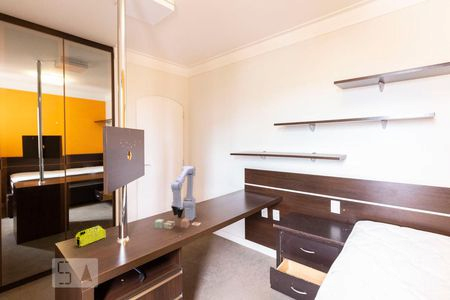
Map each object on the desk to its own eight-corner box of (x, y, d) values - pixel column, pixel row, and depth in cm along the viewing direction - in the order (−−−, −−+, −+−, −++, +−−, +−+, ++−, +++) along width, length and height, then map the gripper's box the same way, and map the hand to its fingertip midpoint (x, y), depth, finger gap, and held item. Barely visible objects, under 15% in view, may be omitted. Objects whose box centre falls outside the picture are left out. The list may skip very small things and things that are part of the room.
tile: (194, 222, 173) (193, 221, 173) (201, 223, 171) (201, 222, 171) (191, 224, 168) (191, 224, 168) (198, 225, 167) (198, 224, 167)
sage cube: (157, 225, 168) (157, 219, 168) (163, 225, 168) (163, 219, 167) (154, 228, 163) (154, 221, 163) (161, 228, 163) (161, 221, 162)
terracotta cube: (183, 224, 169) (183, 218, 169) (189, 225, 168) (189, 219, 167) (180, 227, 164) (180, 220, 164) (186, 228, 163) (186, 221, 163)
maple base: (168, 225, 169) (168, 220, 169) (175, 226, 167) (175, 221, 167) (163, 228, 163) (163, 223, 163) (170, 229, 161) (170, 224, 161)
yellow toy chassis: (101, 236, 150) (100, 224, 150) (105, 238, 147) (105, 226, 147) (75, 246, 137) (75, 233, 136) (80, 248, 134) (79, 235, 133)
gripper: (168, 197, 162) (168, 215, 163) (175, 201, 151) (176, 220, 151) (177, 195, 167) (177, 213, 167) (185, 199, 155) (185, 218, 156)
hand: (177, 216), depth 160 cm, fingers open, 7 cm apart
